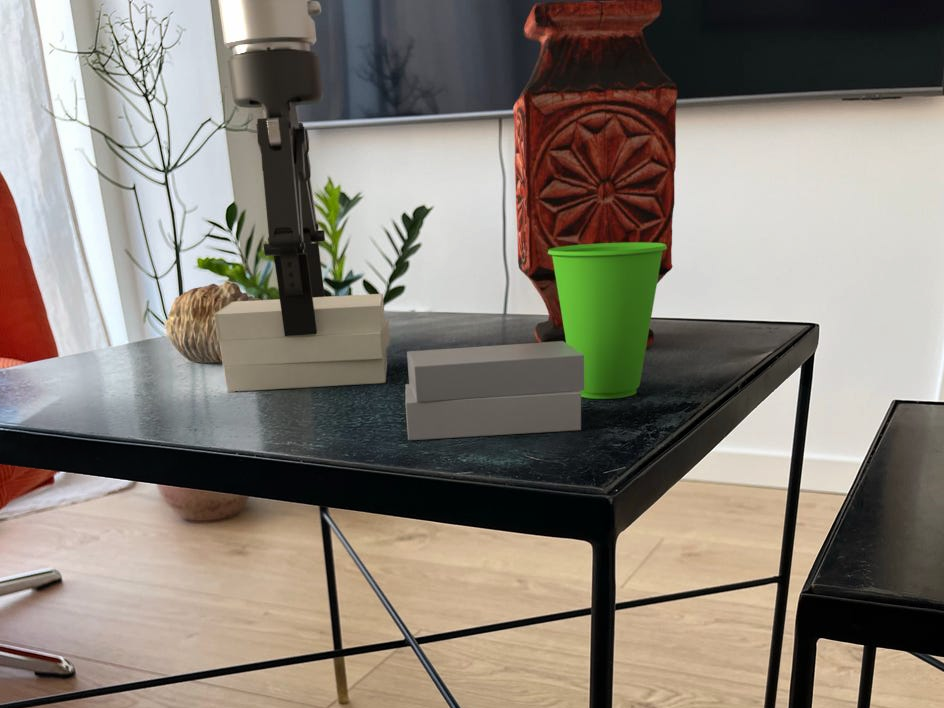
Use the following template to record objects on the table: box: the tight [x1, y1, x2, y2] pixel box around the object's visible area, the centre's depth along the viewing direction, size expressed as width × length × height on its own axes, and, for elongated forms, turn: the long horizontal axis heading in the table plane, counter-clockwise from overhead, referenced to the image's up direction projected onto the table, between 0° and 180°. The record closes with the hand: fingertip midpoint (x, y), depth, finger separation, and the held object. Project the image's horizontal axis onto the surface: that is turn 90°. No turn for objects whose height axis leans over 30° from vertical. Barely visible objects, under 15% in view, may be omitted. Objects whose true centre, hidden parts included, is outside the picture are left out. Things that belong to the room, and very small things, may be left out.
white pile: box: [219, 317, 391, 393], centre depth 93 cm, size 14×11×4 cm
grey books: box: [404, 341, 584, 442], centre depth 72 cm, size 12×8×5 cm, turn 94°
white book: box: [214, 293, 386, 341], centre depth 92 cm, size 14×10×2 cm
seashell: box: [163, 280, 262, 364], centre depth 106 cm, size 14×10×10 cm
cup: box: [548, 242, 667, 400], centre depth 79 cm, size 9×9×11 cm
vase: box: [512, 0, 679, 349], centre depth 99 cm, size 14×14×30 cm
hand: (307, 324), depth 93 cm, fingers open, 11 cm apart
